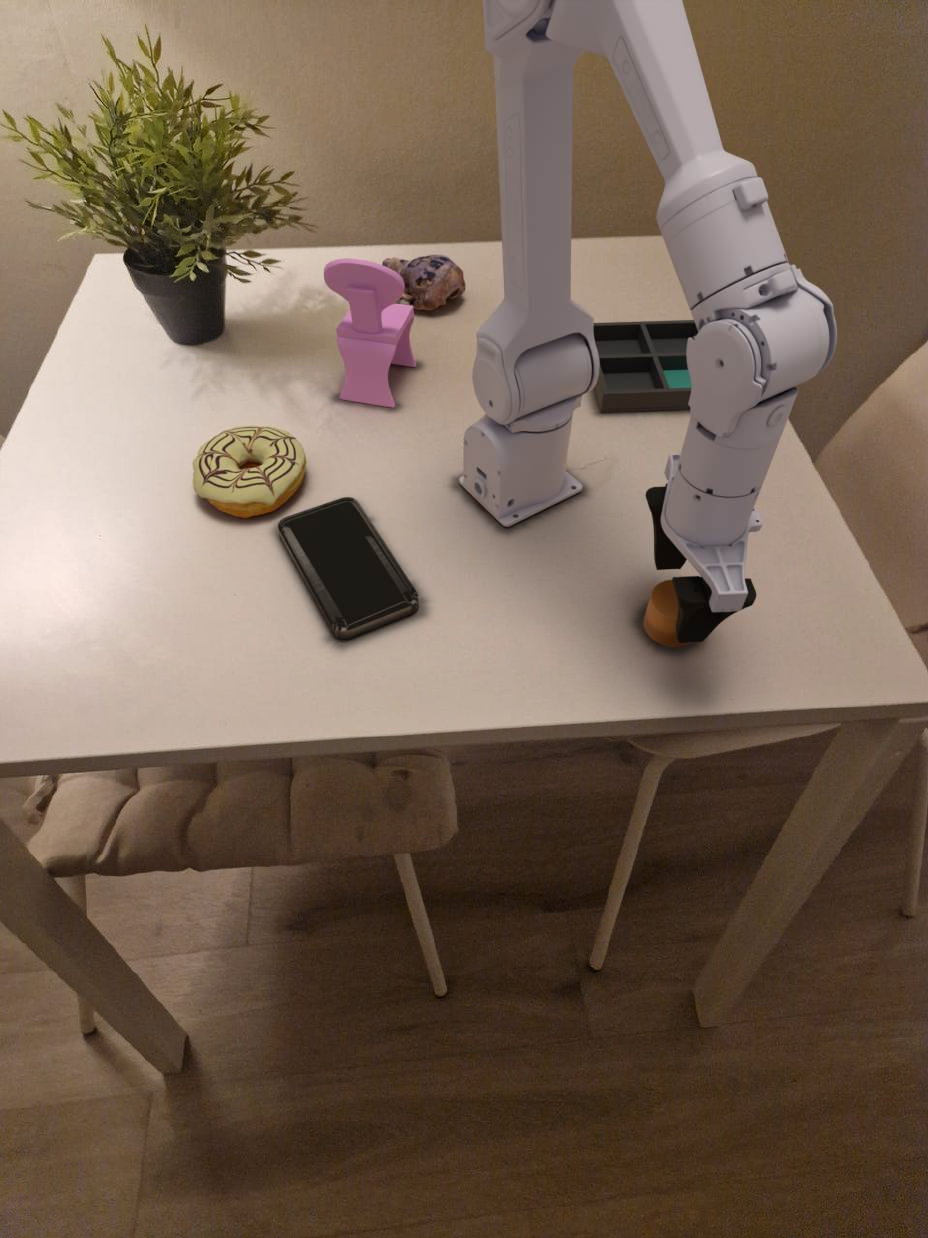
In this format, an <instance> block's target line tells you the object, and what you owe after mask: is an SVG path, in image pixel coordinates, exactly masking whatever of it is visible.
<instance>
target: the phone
mask: <svg viewBox="0 0 928 1238" xmlns="http://www.w3.org/2000/svg"><path fill="white" fill-rule="evenodd" d="M277 528H278V532H279V536H280V539H281V541H282V542H283V544H284V546H285V549H286V550H287V552H288V554H289V556H290V557H291V559H292V561H293V563H294V565H295V567H296V568H297V570H298V572H299V574H300V576H301V578H302V579H303V581H304V583H305V585H306V587H307V589H308V591H309V592H310V594H311V596H312V598H313V600H314V602H315V603H316V605H317V607H318V610H319V611H320V613H321V614H322V616H323V619H324V620H325V622H326V623H327V626H328V627H329V629H330V631H331V633H332V634H333V636H334V637H335V638H337V639H339V640H350V639H353V638H355V637H357V636H358V637H359V636H361V635H363V634H366V633H368V632H371V631H373V630H376V629H379V628H380V627H383V626H385V625H388V624H390V623H391V624H392V623H393V622H395V621H398V620H401V619H403V618H405V617H408V616H410V615H413V614H415V613H416V611H418V609H419V606H420V605H419V604H420V603H419V593H418V591H417V590H416V588H415V586H414V585H413V584H412V582H411V580H410V579H409V577H408V576H407V575H406V573H405V572H404V570H403V568H402V567H401V565H400V563H399V562H398V561H397V559H396V557H395V556H394V554H393V553H392V552H391V550H390V549H389V547H388V546H387V544H386V542H385V541H384V539H383V538H382V536H381V534H380V533H379V532H378V530H377V528H376V527H375V525H374V524H373V522H372V520H370V517H369V516H368V515H367V513H366V512H365V510H364V509H363V507H362V506H361V504H360V502H359V501H358V500H357V499H356V498H354V497H350V496H344V497H340V498H337V499H334V500H332V501H329V502H326V503H322V504H320V505H316V506H314V507H311V508H308V509H305V510H302V511H299V512H296V513H293V514H290V515H287V516H284V517H282V518H281V519H280V520H279V521H278V524H277Z"/></svg>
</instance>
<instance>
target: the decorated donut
mask: <svg viewBox="0 0 928 1238" xmlns="http://www.w3.org/2000/svg"><path fill="white" fill-rule="evenodd" d="M306 468H307V457H306V454H305V448H304V447H303V445H302V443H301V442H299V440H298V439H297V437H295V436H294V435H292V433H290V432H288V431H287V430H284V429H281V428H278V427H276V426H269V425H241V426H235V427H232V428H229V429H226V430H222V431H221V432H220V433H218V434H216V435H214V436H213V437H212V438H211V439H209V440H207V441H205V443H203V444H202V445H201V446H200V447H199V449H198V451H197V455H196V457H195V458H194V459H193V461H192V470H193V473H192V485H193V489H194V491H195V493H196V494H197V495H198V496H199V497H200V498H202V499H206V501H207V502H208V503H209V504H210V505H212V506H214V507H215V508H216V509H217V510H219V511H221V512H223V513H225V514H228V515H231V516H234V517H237V518H243V519H248V518H251V517H252V516H253V517H254V516H260V515H264V514H267V513H271V512H274V511H276V510H277V509H278V508H280V507H281V506H282V505H283V504H285V503H287V502H288V500H289V499H290V498H291V497H292V496H293V495H294V494H295V493H296V491H297V490H298V489H299V487H300V486H302V483H303V480H304V477H305V472H306Z"/></svg>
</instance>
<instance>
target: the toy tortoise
mask: <svg viewBox="0 0 928 1238" xmlns="http://www.w3.org/2000/svg"><path fill="white" fill-rule="evenodd" d="M381 265H383V266H385V267H388V268H390V269H392V270H393V271H395V272H396V273H398V274H399V275H400V276H401V277H402V278H403V281H404V284H405V288H404V292H403V295H402V297H401V298H400V299H403V300H405V301H406V302H408V305H411V306H413V308H414V309H415V310H418V311H422V310H425V311H433V310H437V309H438V308H439V307H440V306H441V305H443V306H445V305H447V300H452V299H455V298H458V297H461V296H463V294H464V293H465V291H466V287H467V286H466V281H465V278H464V271H463V269H461V267H460V266H459V265H457V263H455V262H454V261H453V259H451V257H449V256H447V255H444V254H430V255H429V254H428V255H423V256H419V257H416V258H413V259H410V260H408V259H404V258H403V259H402V258H399V257H395V256H393V257H391V258H389V257H387V258H385V259H384V260H383V261H382V262H381Z"/></svg>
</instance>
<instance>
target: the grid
mask: <svg viewBox="0 0 928 1238" xmlns="http://www.w3.org/2000/svg"><path fill="white" fill-rule="evenodd" d="M593 333H594V340H595V344H596V347H597V350H598V354H599V362H600V367H599V377H598V380H597V383H596V385H595V387H594V388H593V391H594V394H595V398H596V401H597V405H598V409H599V413H602V414H603V413H628V412H629V413H630V412H653V411H654V412H656V411H657V412H658V411H659V412H660V411H685V410H686V411H687V410H689V411H690V409H691V407H690V406H689V405H688V403H689V399H690V395H691V390H692V384H691V378H690V374H689V371H688V366H687V357H686V350H687V342H688V338H690V337H691V338H692V339H693V337H694V336H696V335H697V334H698V329H697V327H696V324H695V321H694V319H680V320H679V319H675V320H649V321H648V320H646V321H645V320H643V321H613V322H612V321H611V322H594V325H593Z"/></svg>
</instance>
